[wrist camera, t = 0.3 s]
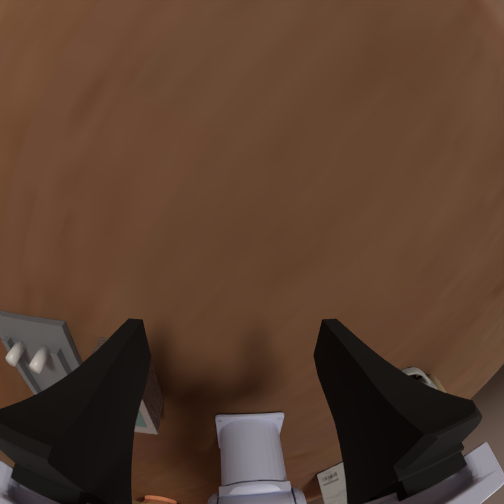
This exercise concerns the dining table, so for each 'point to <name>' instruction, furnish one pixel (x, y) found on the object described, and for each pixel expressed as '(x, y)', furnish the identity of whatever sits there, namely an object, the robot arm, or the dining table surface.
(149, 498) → the potted cactus
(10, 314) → the grooved peg plate
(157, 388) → the block
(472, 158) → the dining table surface
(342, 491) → the hard drive box
